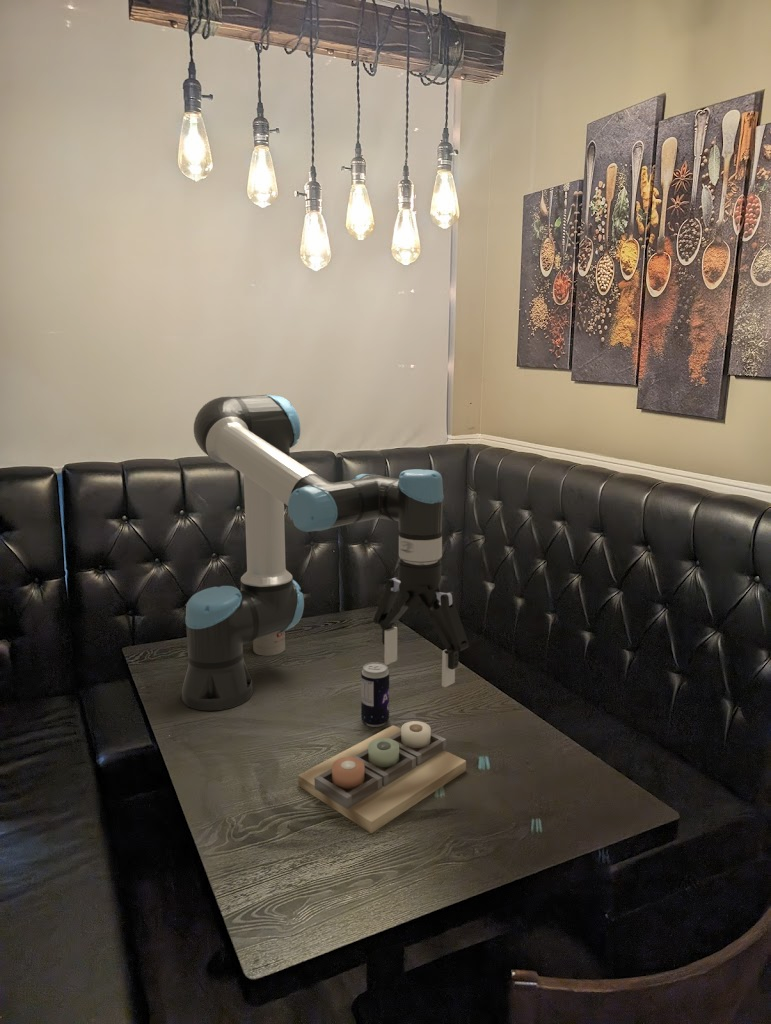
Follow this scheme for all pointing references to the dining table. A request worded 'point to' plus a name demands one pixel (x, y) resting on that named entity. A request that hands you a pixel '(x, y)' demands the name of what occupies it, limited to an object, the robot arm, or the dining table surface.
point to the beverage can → (375, 694)
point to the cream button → (415, 734)
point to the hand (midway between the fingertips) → (418, 673)
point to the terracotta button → (348, 772)
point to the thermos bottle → (270, 644)
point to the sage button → (383, 752)
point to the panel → (385, 780)
